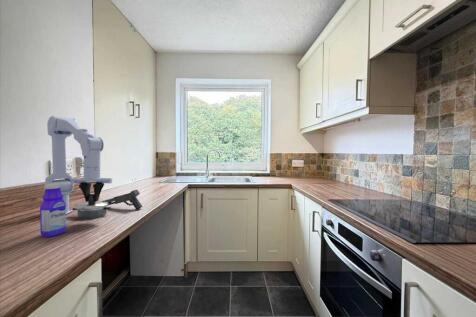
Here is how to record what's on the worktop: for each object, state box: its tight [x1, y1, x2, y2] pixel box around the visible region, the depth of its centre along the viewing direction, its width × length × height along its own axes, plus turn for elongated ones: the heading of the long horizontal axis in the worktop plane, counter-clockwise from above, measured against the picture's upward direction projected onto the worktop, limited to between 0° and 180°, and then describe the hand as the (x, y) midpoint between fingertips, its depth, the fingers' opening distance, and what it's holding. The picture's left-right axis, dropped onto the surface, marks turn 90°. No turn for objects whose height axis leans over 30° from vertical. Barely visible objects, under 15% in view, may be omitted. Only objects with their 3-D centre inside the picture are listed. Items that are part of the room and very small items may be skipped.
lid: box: [74, 193, 109, 211], centre depth 98 cm, size 12×12×6 cm
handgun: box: [99, 189, 144, 211], centre depth 124 cm, size 4×24×10 cm, turn 80°
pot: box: [71, 206, 112, 220], centre depth 109 cm, size 15×11×4 cm
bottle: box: [39, 184, 67, 238], centre depth 84 cm, size 7×6×17 cm
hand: (92, 201), depth 98 cm, fingers closed on lid, 3 cm apart
